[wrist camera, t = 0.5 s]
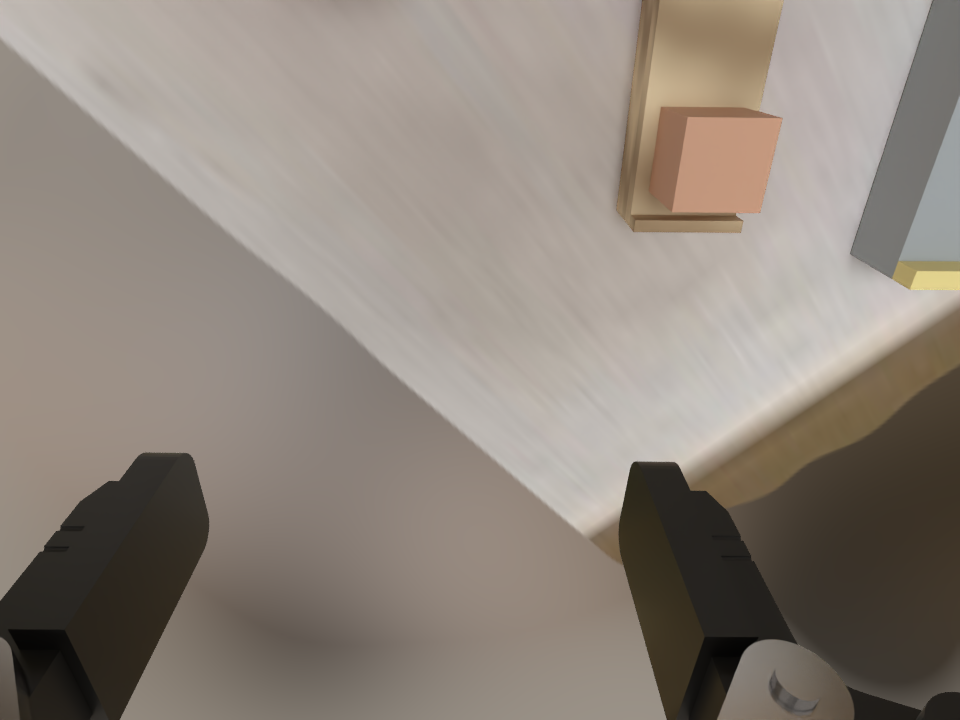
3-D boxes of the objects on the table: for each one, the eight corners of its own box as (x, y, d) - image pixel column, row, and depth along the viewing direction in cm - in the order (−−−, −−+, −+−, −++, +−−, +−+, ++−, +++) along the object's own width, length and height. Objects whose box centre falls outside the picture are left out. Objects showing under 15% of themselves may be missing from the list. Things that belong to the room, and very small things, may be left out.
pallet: (670, -243, 25) (707, -292, 21) (799, -240, 25) (860, -289, 21) (615, 208, 34) (633, 231, 30) (709, 209, 34) (740, 232, 31)
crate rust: (661, 106, 28) (687, 117, 25) (744, 107, 29) (782, 118, 25) (648, 191, 30) (671, 212, 27) (726, 192, 30) (759, 213, 27)
